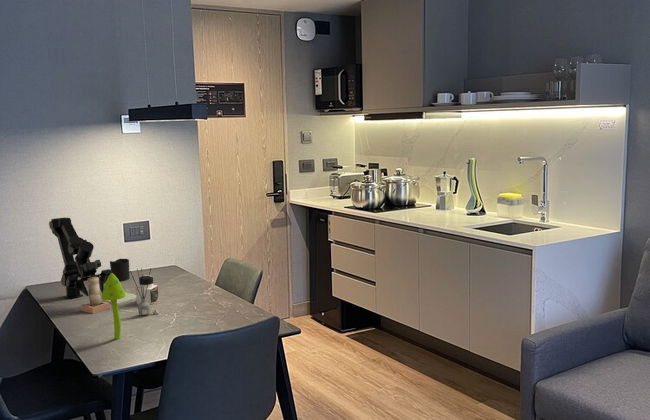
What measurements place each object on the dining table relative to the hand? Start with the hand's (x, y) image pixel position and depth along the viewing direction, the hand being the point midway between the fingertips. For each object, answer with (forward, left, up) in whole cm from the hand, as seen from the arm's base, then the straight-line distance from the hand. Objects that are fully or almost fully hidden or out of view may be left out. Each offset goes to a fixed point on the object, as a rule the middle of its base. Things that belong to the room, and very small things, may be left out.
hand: (95, 294), depth 268 cm
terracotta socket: (-1, 0, -7) cm, 7 cm away
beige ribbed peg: (-1, 0, -7) cm, 7 cm away
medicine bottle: (+10, +19, -7) cm, 23 cm away
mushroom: (+39, -18, -7) cm, 43 cm away
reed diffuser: (+24, +7, -7) cm, 26 cm away
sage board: (-5, +16, -7) cm, 19 cm away
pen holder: (-37, +39, -7) cm, 55 cm away
